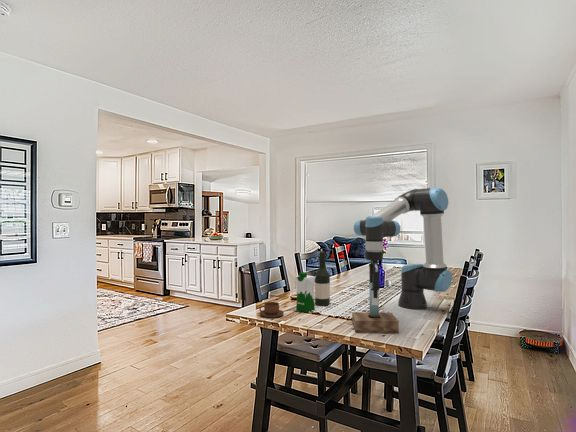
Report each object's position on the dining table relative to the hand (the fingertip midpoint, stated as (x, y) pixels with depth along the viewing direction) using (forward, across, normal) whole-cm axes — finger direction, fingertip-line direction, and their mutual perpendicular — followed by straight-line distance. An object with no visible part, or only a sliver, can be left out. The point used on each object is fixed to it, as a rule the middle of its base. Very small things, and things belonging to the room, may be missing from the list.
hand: (374, 303), depth 163 cm
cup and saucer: (+11, -17, -48) cm, 52 cm away
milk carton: (+11, -29, -31) cm, 44 cm away
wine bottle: (+11, -42, -22) cm, 49 cm away
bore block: (+11, 0, 0) cm, 11 cm away
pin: (+5, 0, 0) cm, 5 cm away
